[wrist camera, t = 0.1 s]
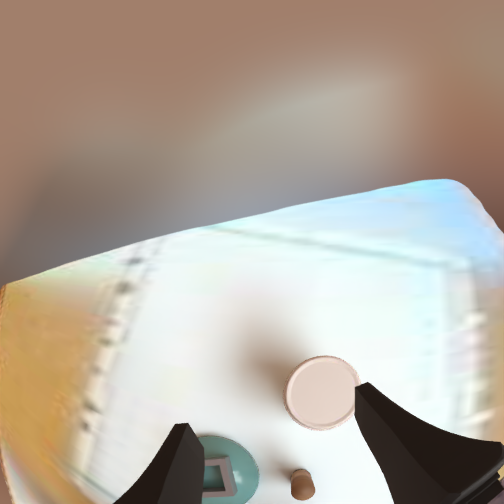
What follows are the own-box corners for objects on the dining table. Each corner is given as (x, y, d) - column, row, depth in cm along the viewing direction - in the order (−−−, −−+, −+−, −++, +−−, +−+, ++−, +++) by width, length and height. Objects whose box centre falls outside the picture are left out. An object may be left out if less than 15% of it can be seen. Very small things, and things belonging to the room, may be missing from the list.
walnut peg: (312, 482, 29) (317, 497, 22) (293, 487, 29) (293, 502, 22) (308, 467, 30) (312, 479, 24) (289, 471, 30) (289, 484, 24)
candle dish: (267, 504, 27) (264, 512, 24) (182, 508, 27) (173, 515, 24) (249, 430, 35) (245, 432, 32) (166, 438, 35) (156, 439, 32)
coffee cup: (328, 433, 33) (342, 441, 23) (274, 411, 36) (268, 412, 26) (353, 381, 37) (375, 369, 27) (300, 360, 41) (304, 342, 31)
